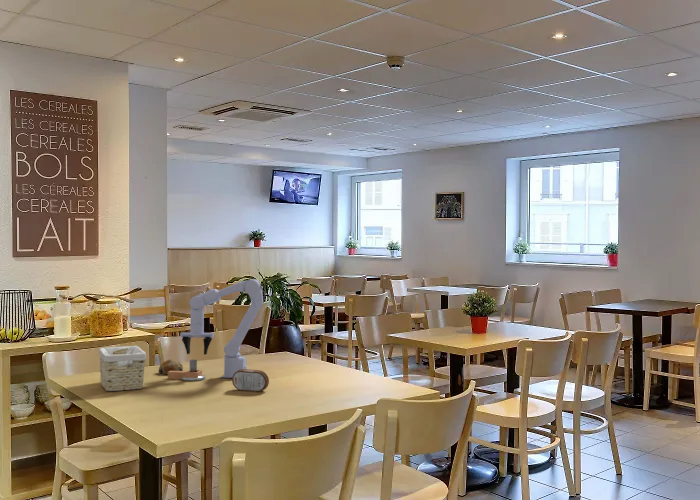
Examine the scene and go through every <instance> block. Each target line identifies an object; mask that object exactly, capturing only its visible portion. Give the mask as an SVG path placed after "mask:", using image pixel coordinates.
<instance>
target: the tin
mask: <svg viewBox="0 0 700 500" xmlns="http://www.w3.org/2000/svg"><path fill="white" fill-rule="evenodd" d="M231 379H232V385H233V387H234V388H235V389H236V390H237V391H240V392H241V391H242V392H243V391H244V392H252V391H258V392H257V393H260V392H259V391H261V392H263V391H265V390H266V389H268V386H269V383H270V379H269V376H268V374H267V373H266V372H265V371H263V370H260V369H247V368H246V369H240V370H238V371H237V372H235V373H234V375H233V377H232V378H231Z"/></svg>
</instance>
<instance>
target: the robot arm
mask: <svg viewBox="0 0 700 500" xmlns="http://www.w3.org/2000/svg"><path fill="white" fill-rule="evenodd" d="M236 292H240V293H244V292H246V293H247V295H248V296H249V299H250V302H251V303H250V305H249V307H248V308H247V311H246V312H245V314H244V316H243V318H242V319H241V320H240V321H241V322H240V323H239V325H238V327H237V329H236V331H235V332H234V334H233V336H232V338H231V339H230V340H229V341H227V343H226V344H225V346H224V348H223V349H224V350H223V351H224V359H223V362H224V367H223V369H224V370H223V373H224V374H223V375H221V376H220V377H221V378H227V379H229V378H230V379H232V377H233V375H234V373H235V372H237V371H238V370H240V369H247V365H248V364H247V358H246V356H242V354H241V353H240V350H241V349H242V343H243V340H244V339H245V337H246V335H247V333H248V331H249V330H250V328H251V327H252V324H253V322H254V320H255V319H256V317H257V315H258V313H259V311H260V309H261V308H262V306H263V304H264V297H263V287H262V283H261V282H260V281H259V280H258V279H256V278H251V279H249V280H243V281H239V282H236V283H234V284H231V285H229V286H227V287H224V288H222V289H217V288H210V289H209V290H208V291H205V292H202V293H201V292H200V293H198V295H195V296H193V297H191V298H190V300H189V305H190V322H189V323H190V324H189V325H190V326H189V327H190V329H189V330H190V332H189V331H188V332H180V333H179V335H180V336H179V338H182V339H181V341H182V343H183V345H184V348H185V350H186V355H190V354H191V339H192V338H196V339H198V338H202V339H203V355H205V356H206V355H208V350H209V346H210V344H211V341H213V338H214V337H215V333H214V332H205V330H204V329H205V327H204V326H205V322H204V321H205V320H204V319H205V313H204V312H205V311H204V306H205V307H208V306H209V305H212V304H214V303H217V302H220V301H221V298H222V297H225V296H227V295H231V294H234V293H236Z"/></svg>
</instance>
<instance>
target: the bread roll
mask: <svg viewBox="0 0 700 500" xmlns="http://www.w3.org/2000/svg"><path fill="white" fill-rule="evenodd" d="M169 371H184V367H183V364H182V363H181V362H180V361H178V360H177V359H174V358H172V359H167V360H165V361H163V362H162V363H161V364H160V365H159V367H158V373H160V375H165V376H168V372H169Z"/></svg>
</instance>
